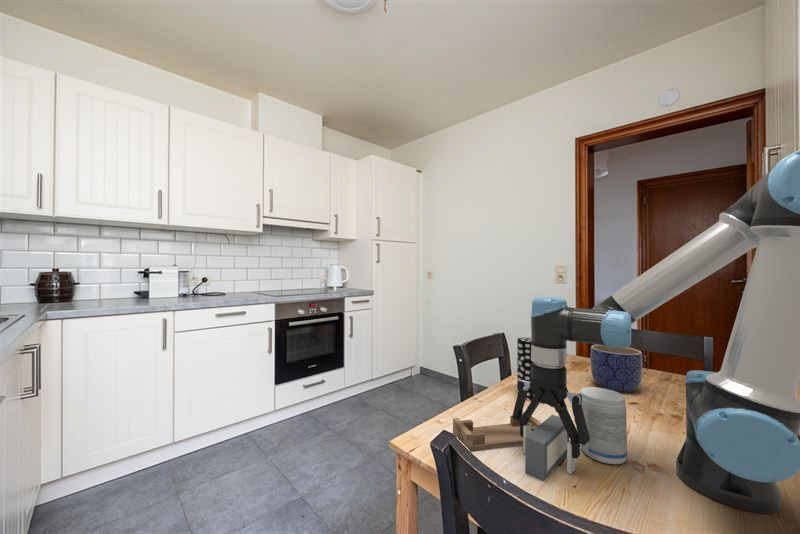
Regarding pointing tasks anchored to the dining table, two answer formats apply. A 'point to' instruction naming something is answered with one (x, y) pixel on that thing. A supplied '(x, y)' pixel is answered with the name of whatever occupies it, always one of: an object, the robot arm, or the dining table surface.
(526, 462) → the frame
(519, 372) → the spotted tube
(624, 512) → the dining table surface
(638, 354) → the planter
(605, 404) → the supplement tub
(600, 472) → the dining table surface
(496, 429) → the tray
